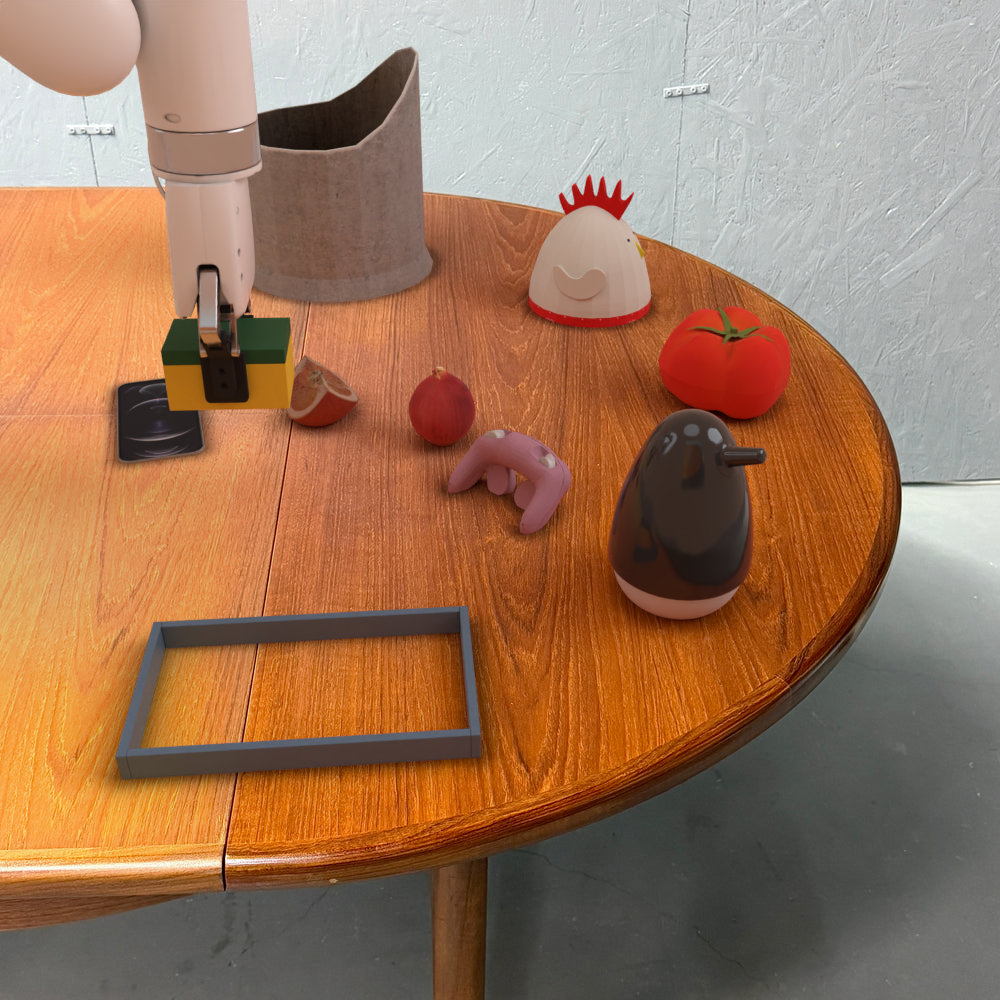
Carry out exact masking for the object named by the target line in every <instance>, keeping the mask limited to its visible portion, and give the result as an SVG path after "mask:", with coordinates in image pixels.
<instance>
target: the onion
mask: <svg viewBox="0 0 1000 1000" xmlns="http://www.w3.org/2000/svg"><path fill="white" fill-rule="evenodd" d="M476 410H477V409H476V402H475V400H474V397H473V395H472V392H471V390H470V388H469V387H468V386H467V384H466V383H465V382H464V381H463V380H462V379H460V378H459V377H457V376H456V375H454V374H452V373H450V372H449V371H448V370H447V369H446V368H444V367H443V366H436V367H435V368H433V369H431V375H429V376H427V377H425V378H424V379H423V380H422V381H421V382H419V383H418V385H417V386H416V387H415V389H414V391H413V393H412V395H411V396H410V400H409V403H408V417H409V420H410V423H411V426H412V427H413V430H415V432H416V433H417V434H418V435H420V437H422V438H423V439H424V440H426V441H428V442H430V443H432V444H433V445H436V446H438V447H449V446H452V445H453V444H455V443H456V442H458V441H460V440H462V439H463V438H464V437H465V436H466V435H467V434H468V433H469V431H470V429H471V427H472V426H473V423H474V421H475V417H476Z"/></svg>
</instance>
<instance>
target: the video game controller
mask: <svg viewBox="0 0 1000 1000" xmlns="http://www.w3.org/2000/svg"><path fill="white" fill-rule="evenodd" d="M516 473H517V474H519V475H521V476H523V477H524V478H525V479H526V480H524V481H522V482H520V483H519V485H518V486H517V477H516ZM485 474H486V485H487V489H488V491H489V492H490V493H492V494H494V495H497V496H504V495H508V494H512V493H514V494H513V500H514V503H515V505H516V507H518V508H520V509H522V510H524V512H523V514H522V516H521V518H520V521H519V532H520V534H521V535H525V536H526V535H530V534H534V533H536V532H538V531H540V530H541V529H542V528H544V526H546V524H547V523H548V522H549V521H550V519H551V518H552V516H553V515H554V514H555V512H556V510H557V507H558V506H559V504H560V502H561V500H562V498H563V497H564V496H566V495H567V493H568V492H569V490H570V488H571V485H572V473H571V470H570V468H569V466H568V465H567V463H566V462H565V461H563V460H562V459H560V458H559V457H558V456H557V454H556V453H555V452H554V451H553V450H552V449H551V448H550V447H548V446H547V444H545V443H543V441H541V440H539V439H537V438H535V437H534V436H531V435H528V434H525V433H522V432H518V431H512V430H508V429H502V428H501V429H492V430H486V431H485V433H484V434H482V435H480V436H478V437H477V439H475V440H474V442H473V443H472V444H471V446H470V447H469V449H468V450H467V451H466V453H465V454H464V455H463V457H462V458H461V459H460V461H459V463H457V464H456V466H455V467H454V469H453V470H452V472H451V474H450V475H449V479H448V481H447V492H448V493H449V494H451V495H452V494H457V493H460V492H464V491H467V490H469V489H471V488H472V487H474V486H475V485H476V484H477V482H478V481H480V479H481V478H482V477H483V476H484V475H485ZM516 486H517V487H516ZM515 488H516V489H515Z"/></svg>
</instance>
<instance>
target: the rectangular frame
mask: <svg viewBox="0 0 1000 1000" xmlns="http://www.w3.org/2000/svg"><path fill="white" fill-rule="evenodd" d="M150 628H151V629H150V632H149V636H148V639H147V643H146V646H145V650H144V654H143V658H142V661H141V665H140V667H139V672H138V675H137V678H136V682H135V686H134V690H133V693H132V697H131V701H130V704H129V707H128V710H127V715H126V718H125V722H124V726H123V728H122V731H121V736H120V738H119V743H118V747H117V750H116V753H115V760H116V761H115V762H116V764H117V768H118V771H119V775H120V779H121V780H122V781H123V780H124V781H125V780H141V779H155V778H171V777H173V778H174V777H188V776H189V777H190V776H203V775H204V776H205V775H206V776H207V775H220V774H221V775H222V774H236V773H237V774H238V773H250V772H251V773H252V772H253V773H254V772H268V771H269V772H270V771H281V770H282V771H283V770H284V771H285V770H299V769H315V768H331V767H332V768H333V767H334V768H335V767H344V766H345V767H348V766H364V765H379V764H395V763H397V764H398V763H411V762H413V763H414V762H429V761H444V760H445V761H446V760H458V759H461V760H462V759H471V758H472V759H476V758H481V757H482V733H481V723H480V722H481V721H480V713H479V703H478V702H479V701H478V693H477V684H476V683H477V682H476V673H475V666H474V665H475V664H474V653H473V643H472V634H471V624H470V615H469V606H468V605H460V606H459V605H455V606H438V607H437V606H436V607H435V606H433V607H415V608H399V609H398V608H397V609H396V608H395V609H378V610H362V611H361V610H358V611H357V610H356V611H341V612H339V611H338V612H337V611H336V612H321V613H299V614H298V613H297V614H280V615H279V614H278V615H259V616H244V617H243V616H242V617H223V618H222V617H221V618H204V619H202V618H201V619H185V620H165V621H164V620H163V621H161V620H160V621H153V622H152V625H151V627H150ZM442 634H443V635H444V634H459V636H460V637H459V638H460V647H461V648H460V649H461V659H462V660H461V661H462V670H463V671H462V672H463V683H464V684H463V685H464V695H465V704H466V717H467V728H454V729H437V730H422V731H420V730H419V731H406V732H388V733H374V734H373V733H371V734H356V735H339V736H322V737H307V738H305V737H304V738H289V739H272V740H254V741H241V742H240V741H239V742H238V741H237V742H224V743H223V742H222V743H221V742H220V743H206V744H190V745H173V746H157V747H156V746H155V747H142V748H141V745H142V742H143V738H144V733H145V730H146V725H147V722H148V717H149V713H150V710H151V705H152V702H153V699H154V694H155V690H156V686H157V683H158V679H159V675H160V671H161V667H162V663H163V659H164V655H165V652H166V649H178V648H179V649H181V648H198V647H199V648H200V647H217V646H218V647H219V646H237V645H238V646H239V645H255V644H256V645H257V644H275V643H291V642H293V643H294V642H295V643H296V642H313V641H328V640H330V641H331V640H350V639H367V638H386V637H388V638H389V637H404V636H423V635H424V636H425V635H442Z"/></svg>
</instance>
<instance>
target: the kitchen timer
mask: <svg viewBox="0 0 1000 1000" xmlns="http://www.w3.org/2000/svg"><path fill="white" fill-rule="evenodd" d="M598 183H599V184H598V189H597V193H596V194H595V189H594V184H593V178H592V174H588V175H587V177H586V179H585V184H584V189H583V193H582V192H581V190H580V188H579V186H578V184H577V183H573V184H572V185H571V194H572V197H573V204H571V203H569V201H568V200H567V198H566V197H565V194H564V193H563V192H559V194H558V199H559V202H560V206H561V208H562V211H563V213H564V216H563V217H562V218H561V219H560V220H559V221H557V223H556V224H555V226H553V228H552V229H551V230H550V232H549V233H548V234H547V236H546V238H545V240H544V241H543V242H542V243H543V244H542V245H541V247H540V249H539V252H538V255H537V257H536V260H535V263H534V267H533V269H532V272H531V276H530V281H529V286H528V306H529V308H530V309H531V311H532V312H533V313H535V314H536V315H538V316H539V317H541V318H543V319H546V320H547V321H551V322H552V323H556V324H560V325H564V326H570V327H576V328H590V329H594V328H595V329H596V328H597V329H598V328H611V327H612V328H613V327H617V326H618V327H619V326H623V325H624V326H625V325H627V324H630V323H632V322H636V321H638V320H641V318H643V317H644V316H645V315H647V314H648V312H649V310H650V308H651V302H652V291H651V282H650V278H649V274H648V268H647V264H646V259H645V254H646V253H645V250H643V248H642V246H641V243H640V241H639V239H638V237H637V235H636V234H635V232H634V230H633V229H632V227H631V226H630V225H629V223H628V222H627V221H626V220H625V219H624V218H623V216H624V214H625V212H626V211H627V208H628V207H629V206H630V204H631V202H632V200H633V197H634V194H635V192H634V191H633V192H632V193H630V194H629V196H627V198H626V199H623V198H622V188H623V187H622V186H623V185H622V179H621V178H620V179H619V180H618V181H617V182H616V185H615V187H614V189H613V191H612V194H611V197H609V196H608V191H607V183H606V179H605V176H604V175H602V176H601V178H600V179H599V182H598Z"/></svg>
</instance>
